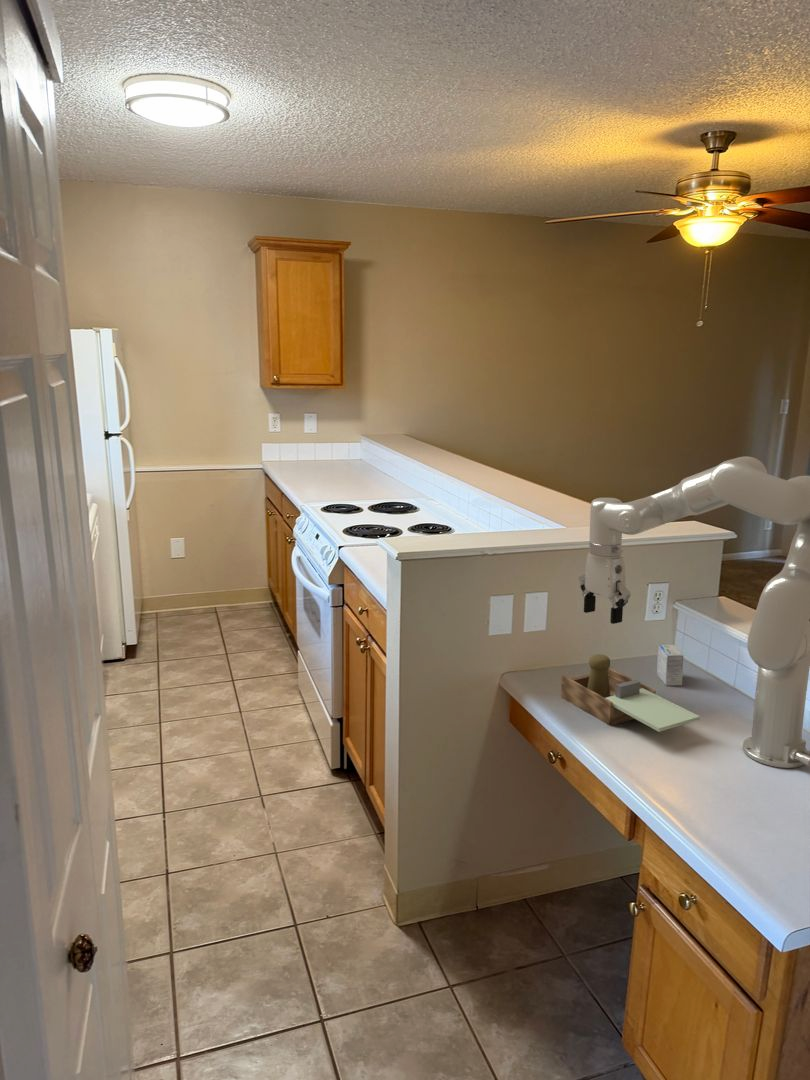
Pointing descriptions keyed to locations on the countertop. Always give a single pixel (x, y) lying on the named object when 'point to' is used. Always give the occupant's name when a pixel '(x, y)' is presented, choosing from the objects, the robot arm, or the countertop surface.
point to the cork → (599, 675)
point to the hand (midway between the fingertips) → (602, 617)
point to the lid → (649, 707)
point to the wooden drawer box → (596, 697)
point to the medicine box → (670, 665)
